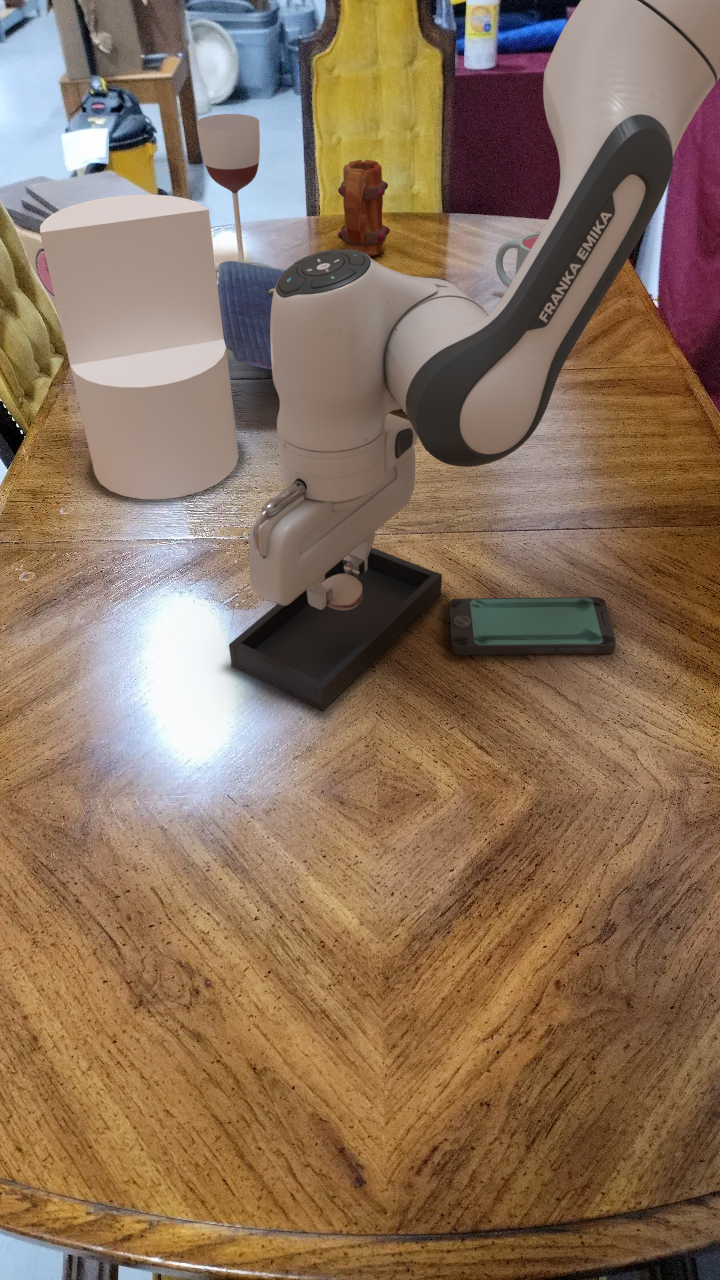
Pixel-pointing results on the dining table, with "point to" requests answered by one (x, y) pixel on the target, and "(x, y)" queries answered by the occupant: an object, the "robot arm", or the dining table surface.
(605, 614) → the smartphone
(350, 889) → the dining table surface
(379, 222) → the mug
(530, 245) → the mug
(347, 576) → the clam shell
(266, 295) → the mat
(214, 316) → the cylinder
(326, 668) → the tray
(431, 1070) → the dining table surface
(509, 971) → the dining table surface
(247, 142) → the wineglass
